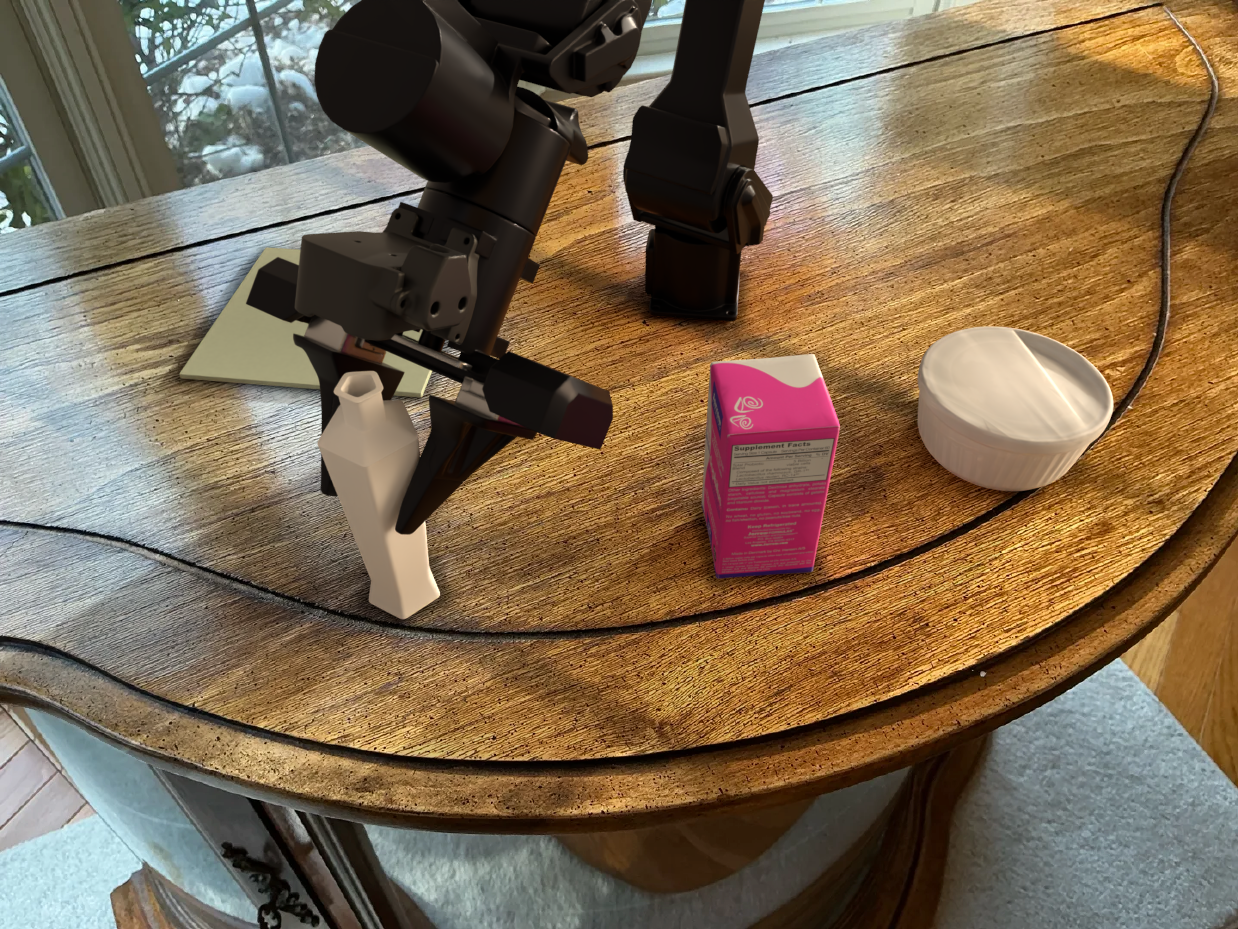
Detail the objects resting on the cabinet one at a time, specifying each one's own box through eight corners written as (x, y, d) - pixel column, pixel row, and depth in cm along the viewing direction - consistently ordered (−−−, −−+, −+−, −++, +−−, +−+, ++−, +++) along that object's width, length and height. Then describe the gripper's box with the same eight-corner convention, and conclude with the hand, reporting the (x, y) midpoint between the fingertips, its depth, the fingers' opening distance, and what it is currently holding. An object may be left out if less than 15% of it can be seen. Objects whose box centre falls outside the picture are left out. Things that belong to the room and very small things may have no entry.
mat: (474, 265, 77) (474, 261, 77) (421, 397, 66) (420, 393, 66) (266, 251, 79) (265, 247, 79) (180, 378, 68) (178, 374, 67)
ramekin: (1118, 448, 63) (1150, 385, 59) (1021, 536, 57) (1049, 472, 54) (969, 365, 69) (989, 302, 65) (868, 437, 63) (883, 374, 60)
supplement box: (696, 506, 59) (708, 356, 51) (793, 500, 59) (821, 350, 51) (711, 582, 55) (726, 432, 47) (815, 575, 55) (848, 425, 47)
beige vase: (432, 630, 53) (391, 427, 42) (354, 616, 53) (294, 412, 43) (459, 565, 56) (427, 360, 45) (385, 552, 56) (336, 347, 46)
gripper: (219, 98, 43) (100, 427, 44) (571, 216, 36) (419, 603, 37) (372, 184, 54) (272, 450, 55) (670, 289, 47) (548, 591, 48)
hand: (365, 513), depth 48 cm, fingers closed on beige vase, 4 cm apart
